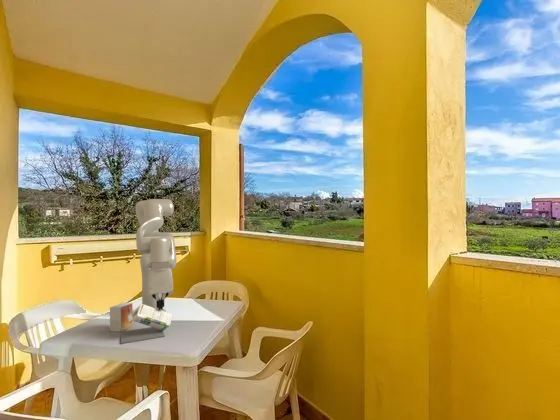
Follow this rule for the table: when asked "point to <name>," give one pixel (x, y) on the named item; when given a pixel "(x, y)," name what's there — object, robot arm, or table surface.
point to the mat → (141, 334)
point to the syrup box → (152, 317)
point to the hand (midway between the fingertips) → (160, 309)
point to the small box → (120, 317)
